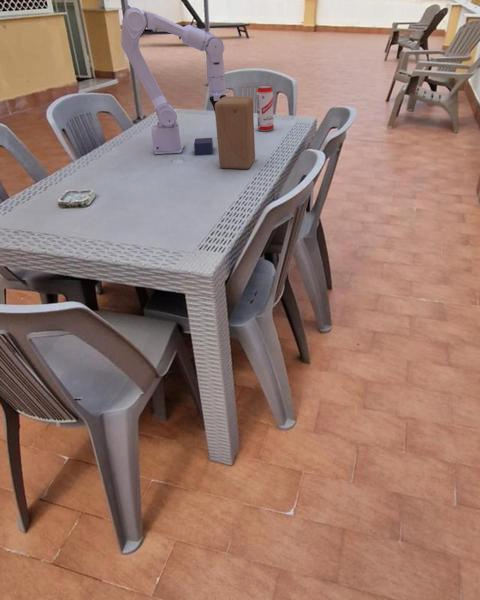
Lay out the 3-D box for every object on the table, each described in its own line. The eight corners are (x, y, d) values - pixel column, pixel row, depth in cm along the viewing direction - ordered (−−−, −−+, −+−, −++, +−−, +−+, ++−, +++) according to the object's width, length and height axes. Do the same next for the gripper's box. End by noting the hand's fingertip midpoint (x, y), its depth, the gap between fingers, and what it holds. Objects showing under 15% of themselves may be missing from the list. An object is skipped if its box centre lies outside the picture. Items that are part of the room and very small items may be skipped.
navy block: (195, 155, 161) (193, 143, 158) (196, 149, 165) (195, 138, 163) (212, 154, 161) (211, 142, 158) (213, 149, 165) (212, 137, 163)
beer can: (255, 129, 185) (253, 86, 175) (269, 126, 187) (268, 84, 177) (262, 133, 180) (260, 88, 171) (276, 130, 182) (275, 86, 173)
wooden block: (249, 170, 146) (246, 103, 135) (219, 169, 148) (213, 103, 137) (255, 159, 154) (253, 95, 143) (227, 158, 156) (222, 95, 145)
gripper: (227, 79, 150) (230, 123, 158) (228, 72, 162) (231, 112, 170) (205, 80, 150) (209, 123, 158) (208, 72, 162) (212, 113, 170)
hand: (219, 118), depth 164 cm, fingers closed
